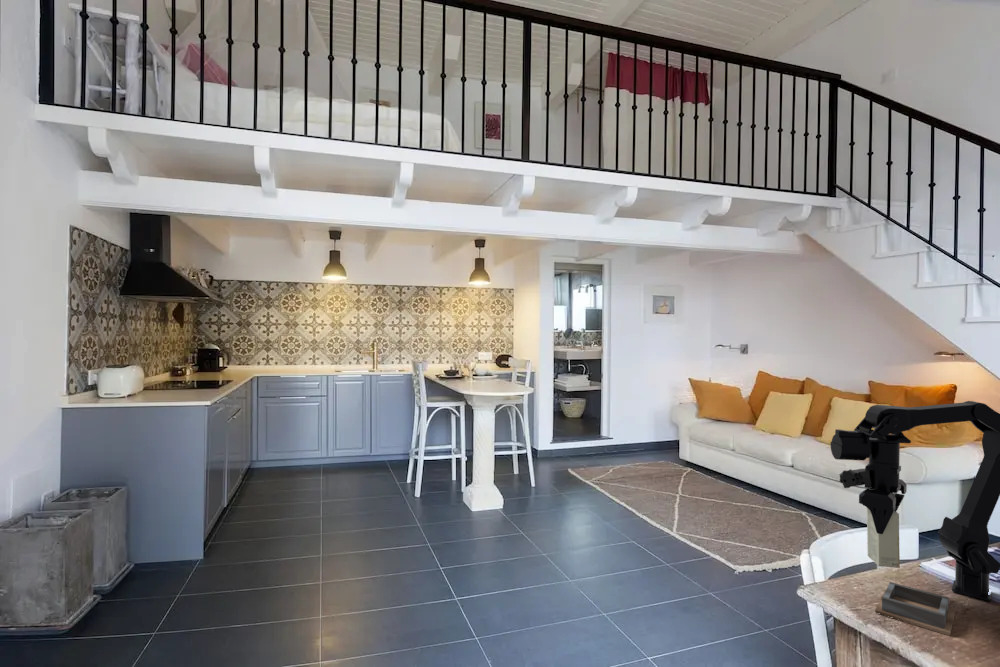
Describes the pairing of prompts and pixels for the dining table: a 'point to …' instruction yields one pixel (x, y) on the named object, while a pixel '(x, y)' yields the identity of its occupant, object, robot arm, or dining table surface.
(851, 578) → the dining table surface
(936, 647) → the dining table surface
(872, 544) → the skincare box
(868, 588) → the dining table surface
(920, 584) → the dining table surface
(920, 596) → the box stand
